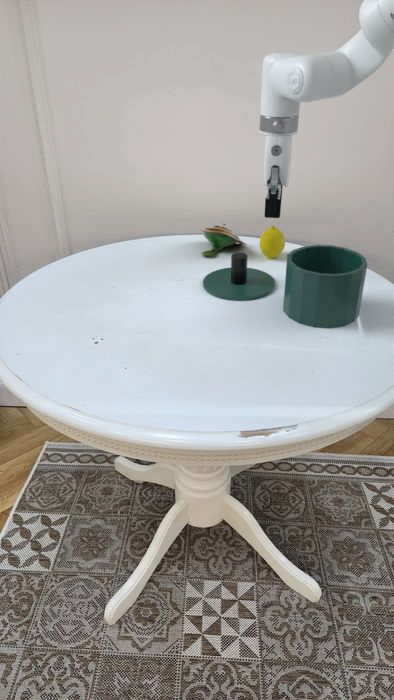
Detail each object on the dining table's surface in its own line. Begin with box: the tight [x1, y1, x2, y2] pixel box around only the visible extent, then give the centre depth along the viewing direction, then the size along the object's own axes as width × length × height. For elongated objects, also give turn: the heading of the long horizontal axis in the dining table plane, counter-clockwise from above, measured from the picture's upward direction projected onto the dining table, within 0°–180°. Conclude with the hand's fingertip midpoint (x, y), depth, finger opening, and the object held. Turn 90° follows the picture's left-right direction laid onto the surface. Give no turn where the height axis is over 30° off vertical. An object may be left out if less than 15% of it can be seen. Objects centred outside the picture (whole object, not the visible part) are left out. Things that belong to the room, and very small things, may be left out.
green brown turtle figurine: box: [193, 223, 247, 258], centre depth 123 cm, size 15×13×8 cm
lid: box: [202, 252, 276, 302], centre depth 107 cm, size 15×15×7 cm
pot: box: [282, 244, 368, 329], centre depth 96 cm, size 14×14×10 cm
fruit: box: [259, 225, 286, 260], centre depth 118 cm, size 6×6×8 cm
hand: (273, 209), depth 114 cm, fingers open, 9 cm apart
